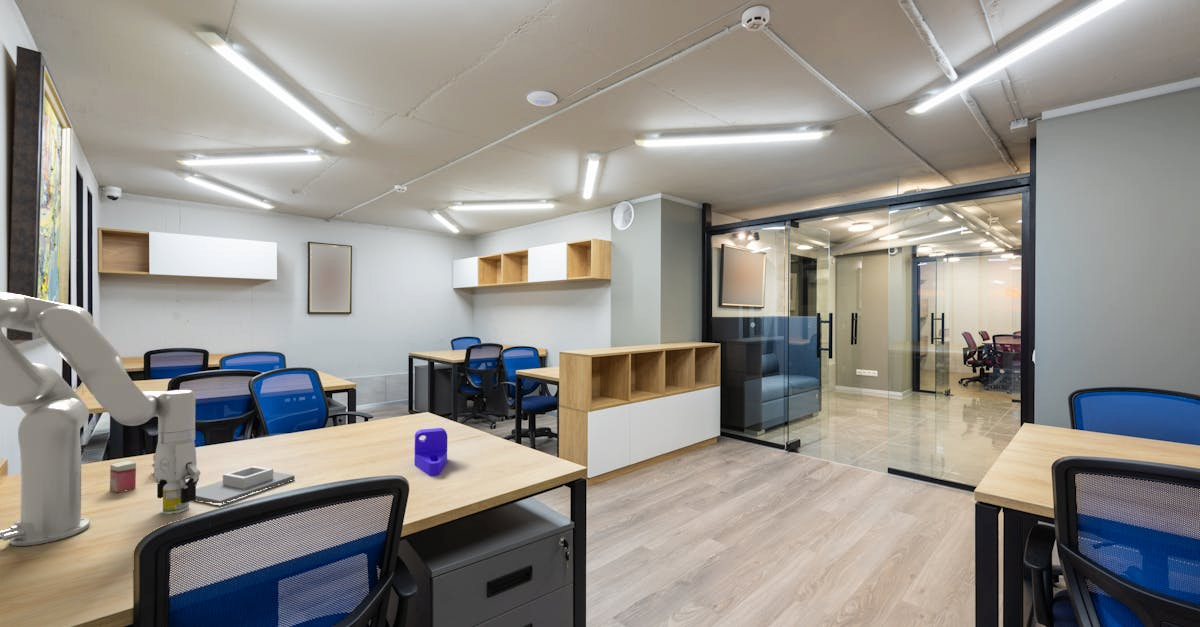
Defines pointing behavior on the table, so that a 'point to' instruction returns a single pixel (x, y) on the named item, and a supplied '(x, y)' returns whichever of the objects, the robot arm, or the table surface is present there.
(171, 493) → the supplement bottle
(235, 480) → the socket holder
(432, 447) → the bracket
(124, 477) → the small box
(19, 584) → the table surface
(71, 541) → the table surface
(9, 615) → the table surface
